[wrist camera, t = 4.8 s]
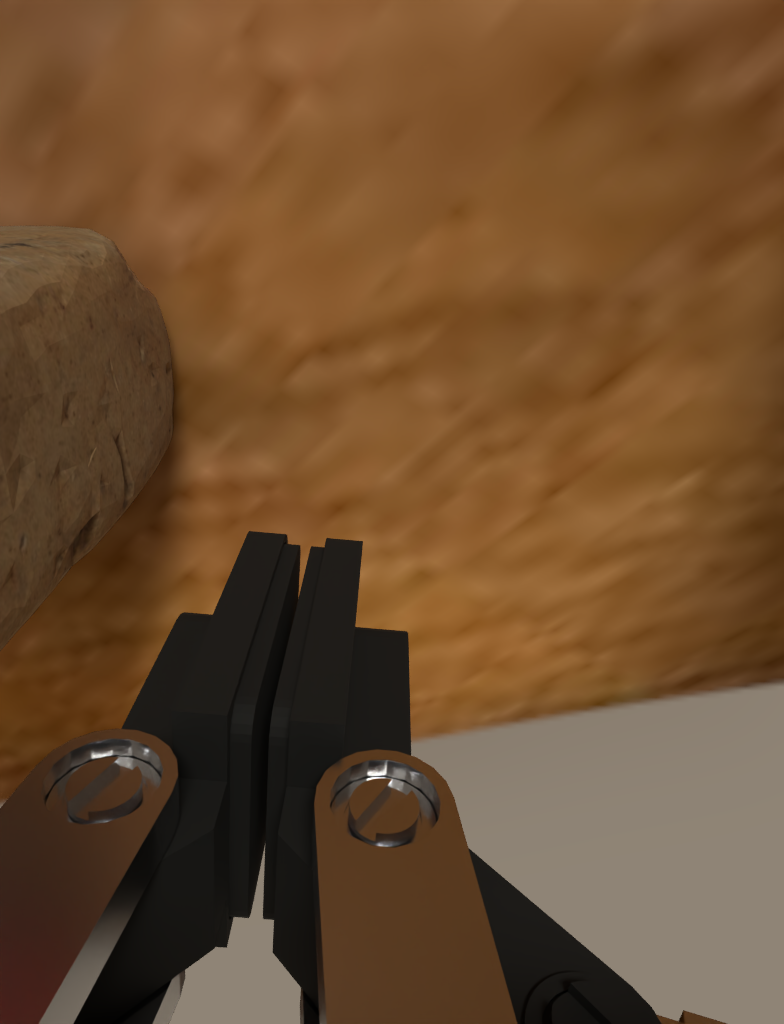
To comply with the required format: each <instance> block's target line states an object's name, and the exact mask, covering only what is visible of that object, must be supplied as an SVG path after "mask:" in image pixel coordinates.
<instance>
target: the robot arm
mask: <svg viewBox="0 0 784 1024" xmlns="http://www.w3.org/2000/svg"><path fill="white" fill-rule="evenodd" d="M362 545H363V541H353V540H342V539H331V538H327V539H326V543H325V548H324V547H313V546H311V549H310V553H309V557H308V561H307V566H306V570H305V574H304V578H303V582H302V587H301V591H300V595H299V599H298V592H299V572H300V545H291V544H288V540H287V535H286V534H275V533H264V532H253V531H249V532H248V534H247V536H246V539H245V541H244V543H243V546H242V548H241V550H240V553H239V555H238V557H237V560H236V562H235V564H234V567H233V569H232V571H231V574H230V576H229V578H228V581H227V583H226V585H225V588H224V590H223V592H222V595H221V597H220V599H219V602H218V604H217V606H216V609H215V611H214V613H213V615H208V614H197V613H185V612H184V613H182V614H180V616H179V617H178V619H177V620H176V622H175V624H174V626H173V628H172V630H171V632H170V634H169V636H168V638H167V640H166V642H165V644H164V646H163V648H162V650H161V652H160V654H159V656H158V658H157V660H156V662H155V663H154V665H153V667H152V669H151V671H150V673H149V675H148V677H147V679H146V681H145V683H144V685H143V687H142V689H141V691H140V693H139V695H138V697H137V699H136V701H135V703H134V705H133V707H132V709H131V711H130V713H129V715H128V717H127V719H126V721H125V723H124V725H123V727H122V728H121V729H111V730H104V731H96V732H92V733H89V734H86V735H83V736H80V737H77V738H74V739H72V740H70V741H68V742H67V743H65V744H63V745H61V746H60V747H58V748H56V749H54V750H53V751H52V752H51V753H49V754H48V755H47V756H46V757H45V758H44V759H43V760H42V761H41V762H40V763H38V764H37V765H36V767H35V768H34V769H33V770H32V771H31V773H30V774H29V775H28V776H27V777H26V778H25V780H24V781H23V782H22V783H21V784H20V786H19V787H18V788H17V789H16V790H15V792H14V793H13V794H12V795H11V796H10V797H9V799H8V800H7V801H6V802H5V803H4V805H3V806H2V807H1V808H0V1024H169V1022H170V1020H171V1017H172V1015H173V1013H174V1010H175V1008H176V1005H177V1003H178V1001H179V998H180V995H181V991H182V988H183V984H184V980H185V969H187V968H188V967H189V966H191V965H192V964H193V963H195V962H196V961H198V960H199V959H200V958H202V957H203V956H204V955H206V954H207V953H209V952H210V951H211V950H213V949H214V948H215V947H227V944H228V939H229V935H230V930H231V926H232V922H233V917H244V918H249V917H250V914H251V909H252V905H253V900H254V895H255V890H256V885H257V881H258V875H259V871H260V866H261V860H262V856H263V851H264V846H265V871H264V902H263V918H264V919H272V920H274V935H273V953H274V954H275V956H276V957H277V958H278V959H279V961H280V962H281V963H282V964H283V966H284V967H285V968H286V969H287V971H288V972H289V973H290V974H291V976H292V977H293V978H294V979H295V980H296V981H297V983H298V984H299V985H300V987H301V997H300V999H301V1000H300V1023H301V1024H726V1023H723V1022H720V1021H717V1020H713V1019H710V1018H707V1017H703V1016H700V1015H697V1014H693V1013H690V1012H687V1011H684V1010H683V1012H682V1015H681V1017H680V1019H679V1022H678V1021H675V1020H672V1019H669V1018H665V1017H662V1016H659V1015H656V1014H655V1012H654V1010H653V1009H652V1007H651V1006H650V1005H649V1004H648V1003H647V1002H646V1001H645V1000H644V999H643V998H642V997H641V996H640V995H639V994H638V993H637V992H636V991H635V990H634V988H633V987H632V986H631V985H629V984H628V983H627V982H626V981H624V979H622V978H621V977H620V976H619V975H618V974H616V973H615V972H614V971H613V970H612V969H611V968H609V967H608V966H607V965H606V964H604V963H603V962H602V961H601V960H600V959H599V958H597V957H596V956H595V955H594V954H593V953H591V952H590V951H589V950H588V949H587V948H586V947H584V946H583V945H582V944H581V943H580V942H579V941H577V940H576V939H575V938H574V937H573V936H572V935H570V934H569V933H568V932H567V931H566V930H565V929H563V928H562V927H561V926H560V925H559V924H557V923H556V922H555V921H554V920H553V919H552V918H550V917H549V916H548V915H547V914H546V913H544V912H543V911H542V910H541V909H540V908H539V907H537V906H536V905H535V904H534V903H533V902H531V901H530V900H529V899H528V898H527V897H525V896H524V895H523V894H522V893H521V892H520V891H518V890H517V889H516V888H515V887H514V886H512V885H511V884H510V883H509V882H508V881H507V880H505V879H504V878H503V877H502V876H501V875H499V874H498V873H497V872H496V871H495V870H494V869H492V868H491V867H490V866H489V865H487V863H485V862H484V861H483V860H482V859H481V858H479V857H478V856H477V855H476V854H475V853H473V852H472V851H471V850H470V849H469V848H468V846H467V842H466V839H465V835H464V832H463V828H462V824H461V821H460V817H459V814H458V811H457V807H456V803H455V799H454V797H453V795H452V792H451V790H450V789H449V786H448V784H447V782H446V781H445V780H444V779H443V778H442V776H440V774H439V773H438V772H437V771H436V770H435V769H434V768H433V767H431V766H430V765H428V764H426V763H425V762H423V761H421V760H420V759H418V758H416V757H413V756H411V731H410V689H409V647H408V633H407V632H406V631H395V630H383V629H371V628H360V627H355V623H356V612H357V601H358V590H359V578H360V567H361V556H362Z"/></svg>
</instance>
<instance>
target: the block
mask: <svg viewBox="0 0 784 1024" xmlns="http://www.w3.org/2000/svg"><path fill="white" fill-rule="evenodd" d="M173 397H174V390H173V376H172V364H171V352H170V344H169V339H168V334H167V330H166V327H165V323H164V320H163V317H162V313H161V310H160V308H159V305H158V303H157V300H156V298H155V297H154V295H153V294H152V293H151V292H150V291H149V290H148V289H147V288H145V287H144V286H143V285H142V284H141V283H140V282H139V281H138V280H137V277H136V276H135V274H134V273H133V272H132V270H131V269H130V268H129V266H128V264H127V263H126V261H125V259H124V257H123V256H122V254H121V253H120V251H119V249H118V248H117V246H116V245H115V243H114V242H113V241H111V240H110V239H108V238H106V237H104V236H102V235H100V234H99V233H97V232H95V231H93V230H91V229H83V228H72V227H61V226H0V651H1V650H2V649H3V647H4V646H5V645H6V644H7V643H8V641H9V640H10V639H11V638H12V637H13V635H14V634H15V633H16V632H17V631H18V630H19V629H20V628H21V627H22V626H23V624H24V623H25V622H26V621H27V620H28V619H29V618H30V617H31V616H32V614H33V613H34V612H35V611H36V610H37V608H38V607H39V606H40V605H41V604H42V602H43V601H44V600H45V599H46V598H47V597H48V595H49V594H50V593H51V592H52V591H53V590H54V589H55V587H56V586H57V585H58V583H59V582H60V581H61V580H62V578H63V577H64V576H65V574H66V573H67V572H68V571H69V569H70V568H71V566H73V565H74V564H75V563H77V562H78V561H79V560H80V559H81V558H82V557H84V556H85V555H86V554H87V553H88V552H90V551H91V550H92V549H93V548H94V547H95V546H96V545H97V543H98V542H99V541H100V540H101V539H102V538H103V537H104V535H105V534H106V533H107V532H108V531H109V530H110V529H111V527H112V526H113V525H114V524H115V523H116V522H117V521H118V519H119V518H120V517H121V516H122V515H123V513H124V512H125V511H126V510H127V509H128V507H129V506H130V505H131V503H132V502H133V501H134V499H135V498H136V497H137V495H138V494H139V493H140V491H141V490H142V489H143V487H144V486H145V484H146V483H147V481H148V480H149V479H150V477H151V476H152V475H153V473H154V471H155V470H156V468H157V467H158V465H159V463H160V461H161V459H162V457H163V456H164V454H165V452H166V450H167V448H168V447H169V444H170V441H171V439H172V432H173V414H172V408H173Z"/></svg>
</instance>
